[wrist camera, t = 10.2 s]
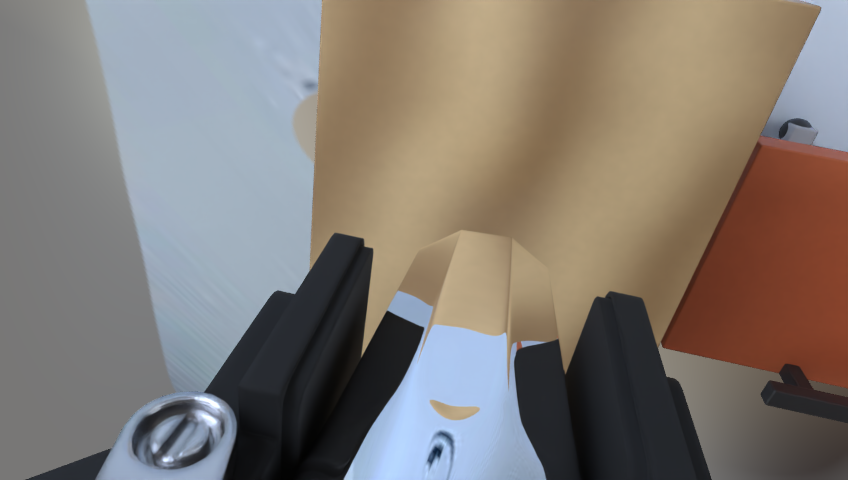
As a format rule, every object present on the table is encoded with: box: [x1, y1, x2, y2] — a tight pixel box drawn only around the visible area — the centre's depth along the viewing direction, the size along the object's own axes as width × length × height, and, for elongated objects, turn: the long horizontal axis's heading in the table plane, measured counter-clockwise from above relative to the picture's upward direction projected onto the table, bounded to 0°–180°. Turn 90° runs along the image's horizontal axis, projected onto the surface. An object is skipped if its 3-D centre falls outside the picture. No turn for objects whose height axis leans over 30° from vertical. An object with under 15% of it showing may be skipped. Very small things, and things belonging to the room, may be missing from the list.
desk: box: [310, 0, 821, 374], centre depth 22 cm, size 11×18×12 cm, turn 171°
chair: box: [661, 118, 848, 423], centre depth 20 cm, size 9×9×15 cm
